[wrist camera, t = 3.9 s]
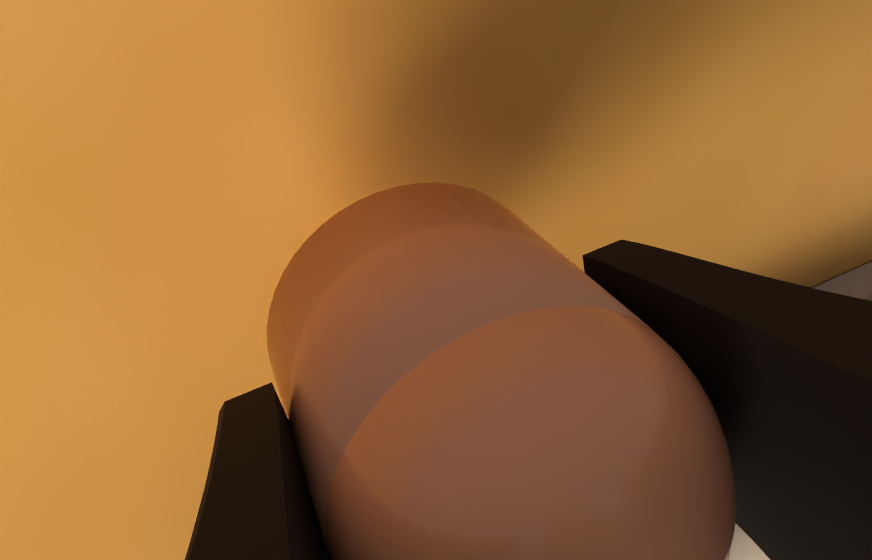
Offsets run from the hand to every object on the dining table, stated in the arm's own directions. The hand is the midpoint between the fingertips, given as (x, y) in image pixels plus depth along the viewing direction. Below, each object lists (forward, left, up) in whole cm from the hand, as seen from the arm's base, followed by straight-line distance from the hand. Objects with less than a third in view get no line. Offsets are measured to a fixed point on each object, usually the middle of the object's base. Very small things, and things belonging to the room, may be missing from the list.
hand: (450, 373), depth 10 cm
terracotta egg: (0, 0, -2) cm, 2 cm away
